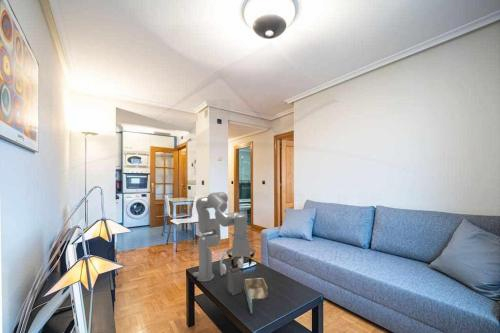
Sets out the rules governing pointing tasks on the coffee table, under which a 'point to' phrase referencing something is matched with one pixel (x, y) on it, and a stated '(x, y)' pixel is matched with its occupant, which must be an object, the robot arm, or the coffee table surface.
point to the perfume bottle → (235, 279)
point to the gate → (249, 301)
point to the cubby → (256, 288)
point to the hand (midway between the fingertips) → (241, 265)
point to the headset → (223, 267)
